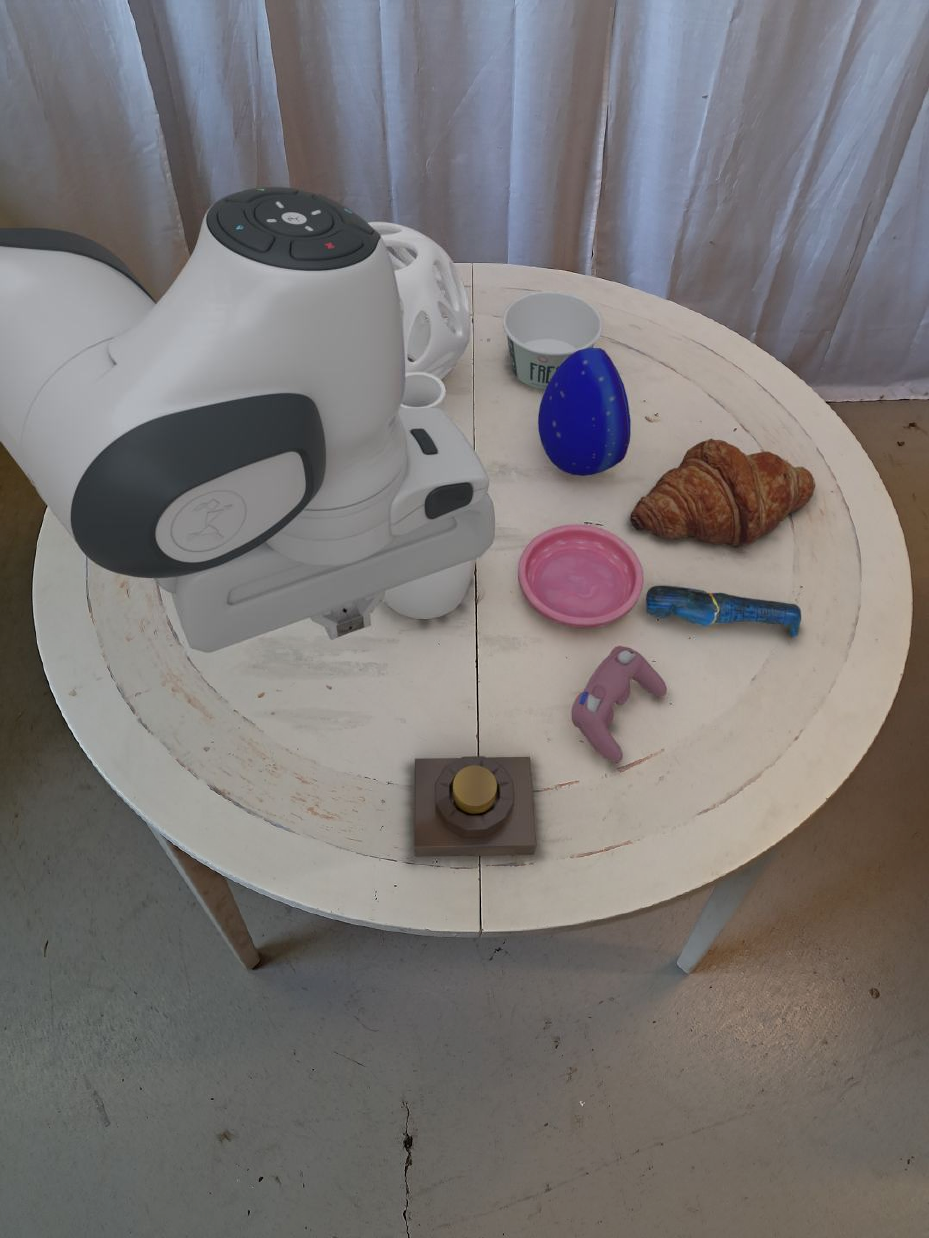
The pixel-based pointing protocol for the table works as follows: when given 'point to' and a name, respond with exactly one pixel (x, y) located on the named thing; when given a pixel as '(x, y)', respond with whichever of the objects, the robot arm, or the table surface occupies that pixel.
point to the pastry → (723, 495)
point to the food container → (548, 333)
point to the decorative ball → (428, 301)
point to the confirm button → (474, 789)
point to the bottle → (449, 584)
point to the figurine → (720, 608)
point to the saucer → (580, 576)
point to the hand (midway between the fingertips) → (346, 625)
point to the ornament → (585, 414)
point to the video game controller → (612, 697)
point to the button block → (473, 834)
